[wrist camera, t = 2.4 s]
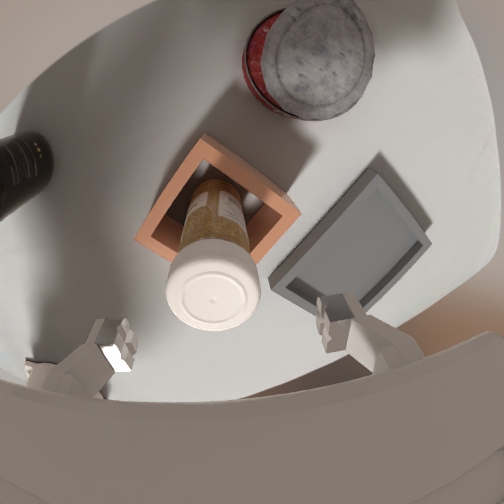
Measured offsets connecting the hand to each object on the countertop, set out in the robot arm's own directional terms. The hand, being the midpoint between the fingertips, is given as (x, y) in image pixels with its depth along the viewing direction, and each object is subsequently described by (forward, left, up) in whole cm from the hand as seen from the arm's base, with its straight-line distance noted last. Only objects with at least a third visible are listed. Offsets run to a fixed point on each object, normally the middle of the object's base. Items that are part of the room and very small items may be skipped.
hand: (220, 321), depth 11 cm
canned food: (+14, +2, -15) cm, 21 cm away
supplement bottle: (-7, +19, -15) cm, 25 cm away
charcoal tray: (+4, -15, -15) cm, 21 cm away
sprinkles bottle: (0, 0, -15) cm, 15 cm away
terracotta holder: (0, 0, -15) cm, 15 cm away
